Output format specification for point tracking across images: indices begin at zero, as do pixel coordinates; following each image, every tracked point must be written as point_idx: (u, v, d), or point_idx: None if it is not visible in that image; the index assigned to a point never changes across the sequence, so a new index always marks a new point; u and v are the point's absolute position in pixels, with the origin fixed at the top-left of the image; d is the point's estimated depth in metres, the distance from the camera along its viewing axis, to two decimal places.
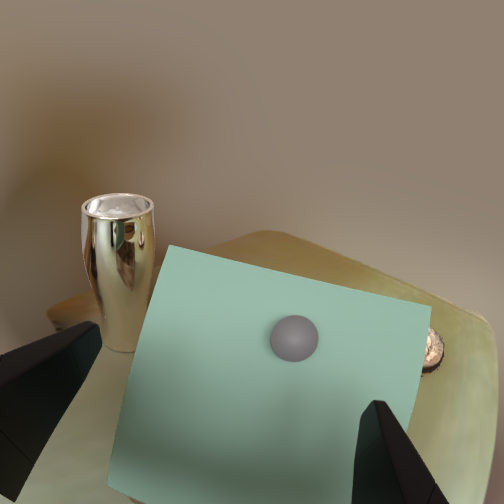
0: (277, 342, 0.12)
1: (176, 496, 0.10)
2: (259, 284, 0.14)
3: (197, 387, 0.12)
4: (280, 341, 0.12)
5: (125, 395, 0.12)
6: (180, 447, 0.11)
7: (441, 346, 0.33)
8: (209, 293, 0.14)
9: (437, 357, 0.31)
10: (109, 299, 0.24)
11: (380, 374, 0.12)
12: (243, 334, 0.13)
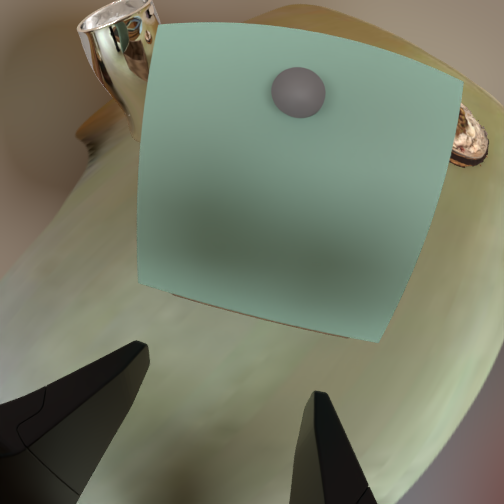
0: (278, 96, 0.10)
1: (199, 279, 0.15)
2: (258, 41, 0.10)
3: (205, 155, 0.12)
4: (282, 95, 0.10)
5: (139, 181, 0.14)
6: (196, 224, 0.14)
7: (485, 142, 0.26)
8: (205, 58, 0.11)
9: (481, 152, 0.26)
10: (127, 96, 0.22)
11: (403, 142, 0.10)
12: (246, 93, 0.11)
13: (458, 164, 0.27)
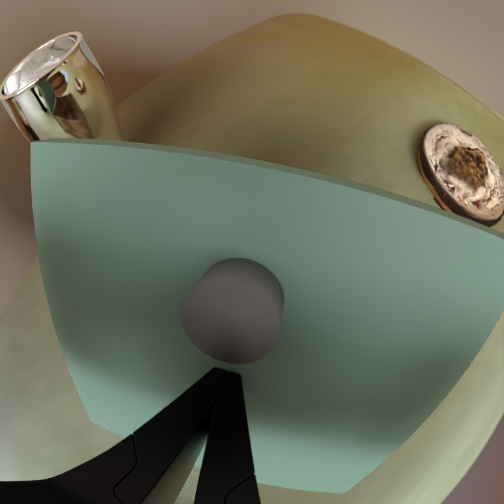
0: (195, 331, 0.06)
1: None
2: (164, 189, 0.06)
3: (121, 349, 0.09)
4: (200, 329, 0.06)
5: (62, 347, 0.10)
6: (132, 403, 0.10)
7: None
8: (91, 214, 0.07)
9: (499, 208, 0.22)
10: None
11: (406, 359, 0.07)
12: (156, 283, 0.07)
13: None
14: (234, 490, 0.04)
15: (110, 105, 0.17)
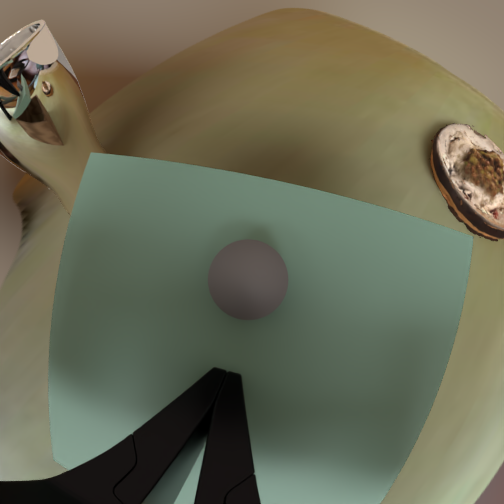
0: (218, 286, 0.07)
1: None
2: (202, 192, 0.09)
3: (122, 348, 0.09)
4: (222, 283, 0.07)
5: (50, 355, 0.09)
6: (113, 425, 0.09)
7: None
8: (133, 211, 0.09)
9: None
10: (34, 172, 0.14)
11: (394, 340, 0.08)
12: (178, 270, 0.09)
13: (490, 237, 0.19)
14: (234, 490, 0.04)
15: (77, 101, 0.14)
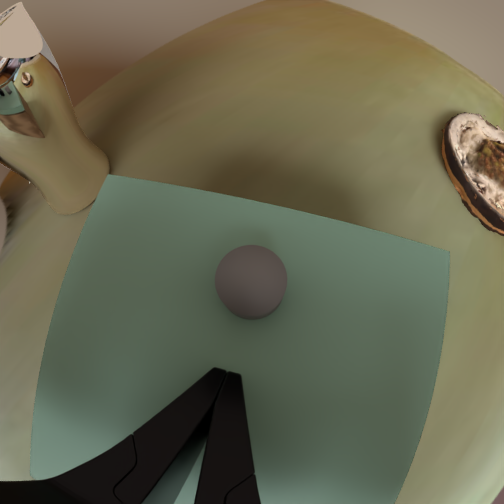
0: (224, 284, 0.08)
1: None
2: (209, 213, 0.10)
3: (121, 353, 0.09)
4: (228, 282, 0.08)
5: (43, 360, 0.09)
6: (102, 436, 0.08)
7: None
8: (145, 226, 0.10)
9: None
10: (11, 165, 0.12)
11: (385, 344, 0.09)
12: (184, 279, 0.09)
13: None
14: (234, 490, 0.04)
15: (55, 85, 0.11)
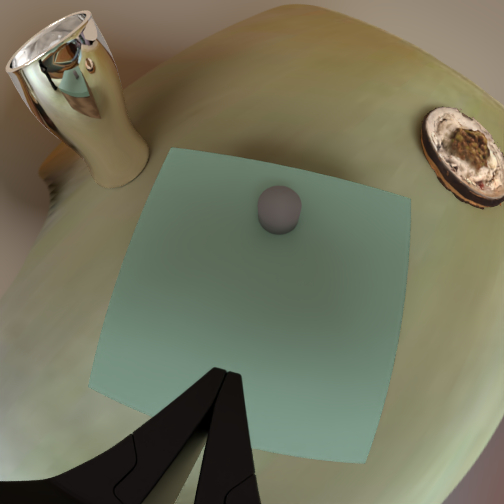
0: (263, 207, 0.13)
1: (159, 391, 0.12)
2: (248, 171, 0.15)
3: (188, 261, 0.14)
4: (266, 206, 0.13)
5: (118, 277, 0.14)
6: (167, 328, 0.13)
7: None
8: (204, 180, 0.15)
9: (502, 189, 0.21)
10: (74, 141, 0.17)
11: (366, 252, 0.14)
12: (233, 211, 0.15)
13: (476, 205, 0.22)
14: (234, 490, 0.04)
15: (116, 81, 0.16)
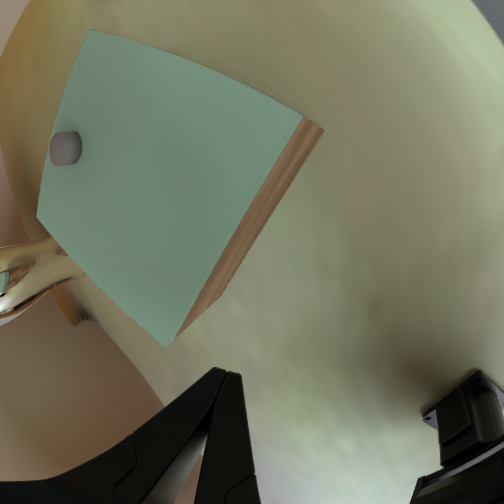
0: (57, 162, 0.13)
1: (166, 289, 0.15)
2: (50, 163, 0.15)
3: (88, 226, 0.15)
4: (57, 160, 0.13)
5: (96, 283, 0.17)
6: (124, 259, 0.15)
7: None
8: (51, 198, 0.16)
9: None
10: (35, 290, 0.22)
11: (106, 77, 0.12)
12: (67, 181, 0.15)
13: None
14: (234, 490, 0.04)
15: None
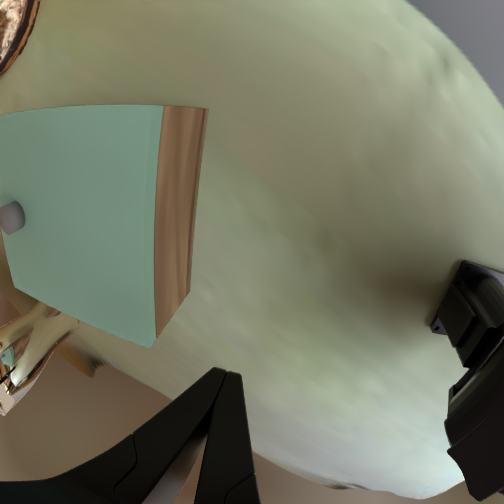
0: (9, 231, 0.14)
1: (125, 295, 0.16)
2: (7, 236, 0.16)
3: (52, 272, 0.16)
4: (8, 229, 0.14)
5: (78, 318, 0.18)
6: (87, 286, 0.16)
7: None
8: (18, 264, 0.17)
9: None
10: (40, 353, 0.22)
11: (19, 148, 0.13)
12: (24, 244, 0.16)
13: (35, 10, 0.14)
14: (234, 490, 0.04)
15: None
